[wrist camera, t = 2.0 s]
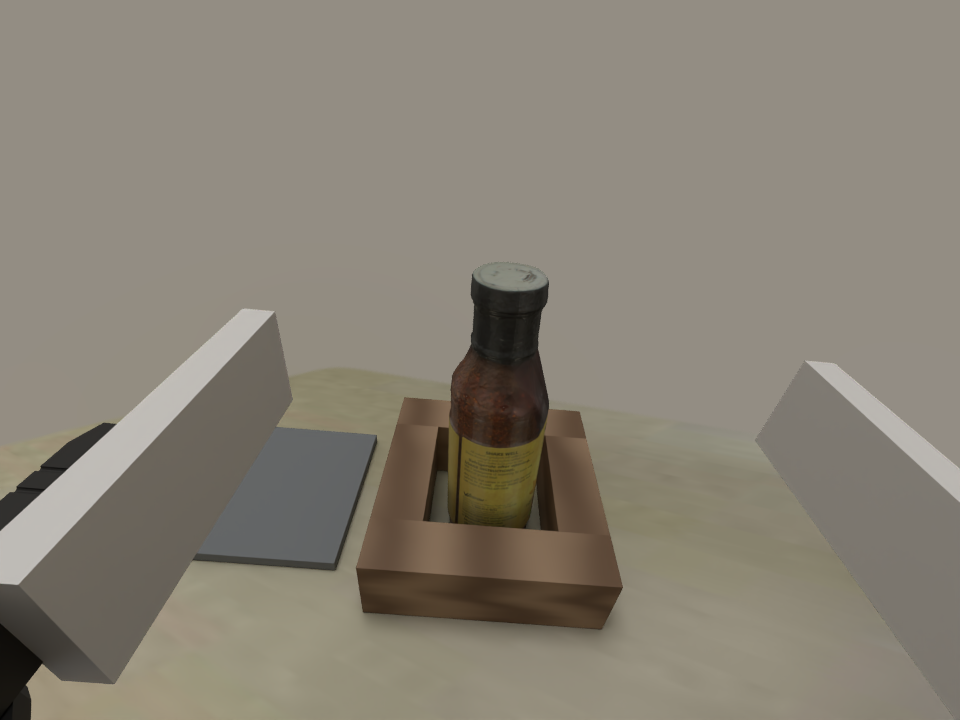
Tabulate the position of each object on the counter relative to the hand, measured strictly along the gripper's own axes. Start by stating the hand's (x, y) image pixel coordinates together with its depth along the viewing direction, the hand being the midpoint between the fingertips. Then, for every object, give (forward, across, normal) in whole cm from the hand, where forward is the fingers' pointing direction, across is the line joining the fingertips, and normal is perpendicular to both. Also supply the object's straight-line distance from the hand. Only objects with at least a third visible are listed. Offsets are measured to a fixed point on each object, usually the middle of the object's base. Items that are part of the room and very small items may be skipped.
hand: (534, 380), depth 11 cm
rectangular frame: (+12, +1, -22) cm, 25 cm away
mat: (+13, -15, -22) cm, 30 cm away
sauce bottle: (+12, +1, -22) cm, 25 cm away
